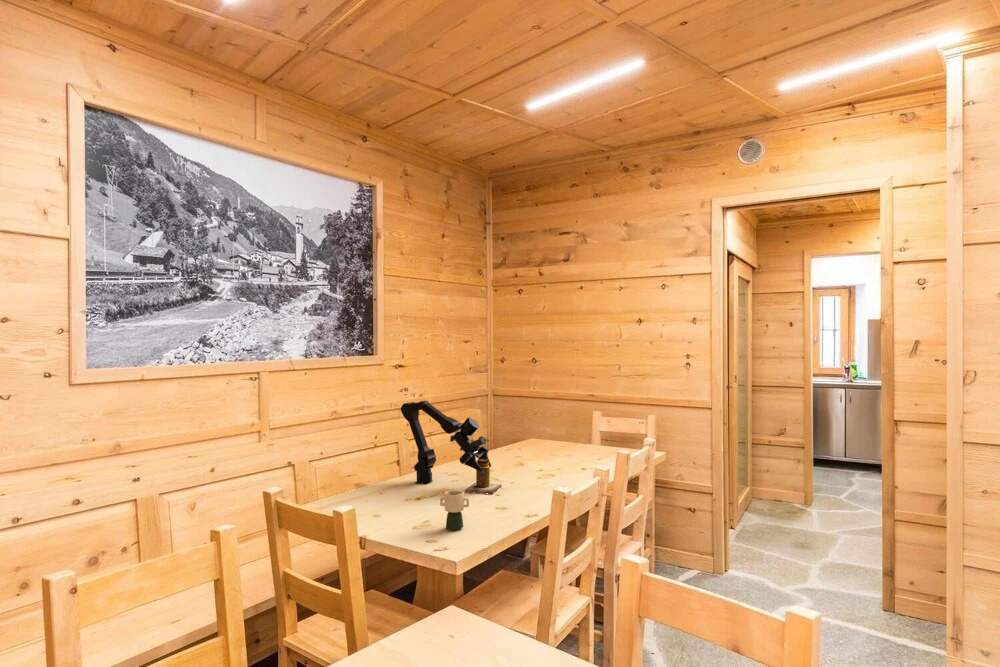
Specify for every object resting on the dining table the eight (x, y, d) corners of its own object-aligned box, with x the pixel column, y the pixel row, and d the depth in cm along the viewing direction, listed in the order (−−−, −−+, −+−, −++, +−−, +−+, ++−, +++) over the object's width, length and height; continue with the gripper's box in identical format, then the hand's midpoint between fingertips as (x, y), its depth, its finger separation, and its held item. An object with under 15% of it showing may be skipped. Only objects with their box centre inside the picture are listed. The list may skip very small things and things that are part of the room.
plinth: (464, 492, 255) (464, 488, 255) (475, 485, 267) (475, 482, 267) (492, 494, 251) (492, 491, 251) (501, 487, 263) (501, 483, 263)
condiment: (492, 485, 261) (492, 458, 261) (485, 489, 253) (485, 462, 254) (478, 483, 264) (478, 457, 264) (470, 488, 256) (470, 461, 256)
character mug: (471, 526, 208) (471, 490, 208) (466, 532, 201) (466, 495, 201) (443, 524, 210) (442, 489, 210) (437, 531, 203) (436, 494, 203)
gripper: (465, 434, 253) (487, 461, 248) (485, 428, 270) (506, 453, 265) (450, 450, 256) (471, 477, 251) (470, 443, 273) (491, 469, 268)
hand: (486, 468), depth 259 cm, fingers open, 9 cm apart
